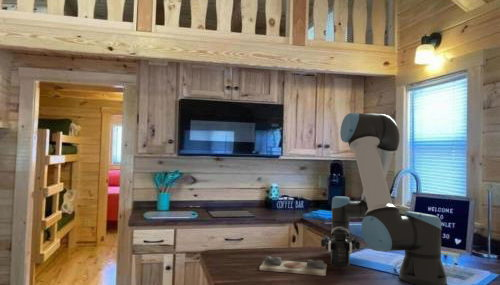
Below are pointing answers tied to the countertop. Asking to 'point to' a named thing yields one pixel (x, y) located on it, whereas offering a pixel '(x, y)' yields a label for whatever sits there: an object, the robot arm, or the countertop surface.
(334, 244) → the supplement bottle
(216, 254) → the countertop surface
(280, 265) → the cream base tray
